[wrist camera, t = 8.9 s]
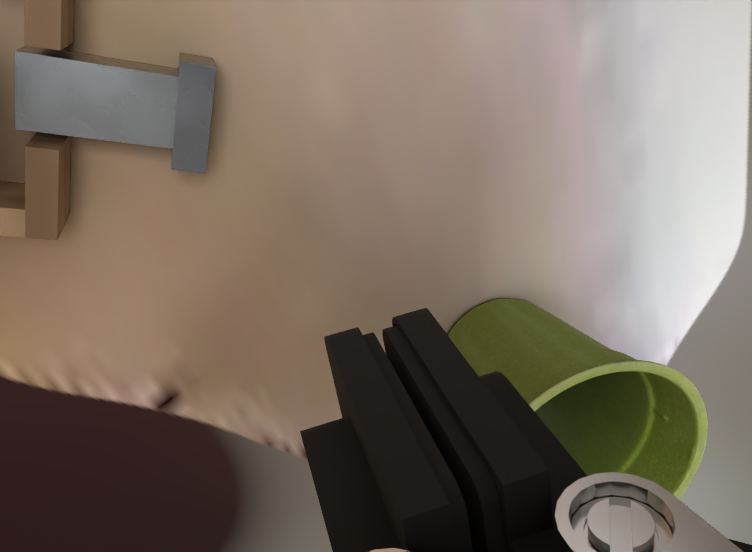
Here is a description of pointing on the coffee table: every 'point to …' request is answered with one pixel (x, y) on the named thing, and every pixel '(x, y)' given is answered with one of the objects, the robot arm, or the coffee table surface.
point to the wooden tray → (42, 143)
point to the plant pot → (591, 393)
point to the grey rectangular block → (118, 101)
